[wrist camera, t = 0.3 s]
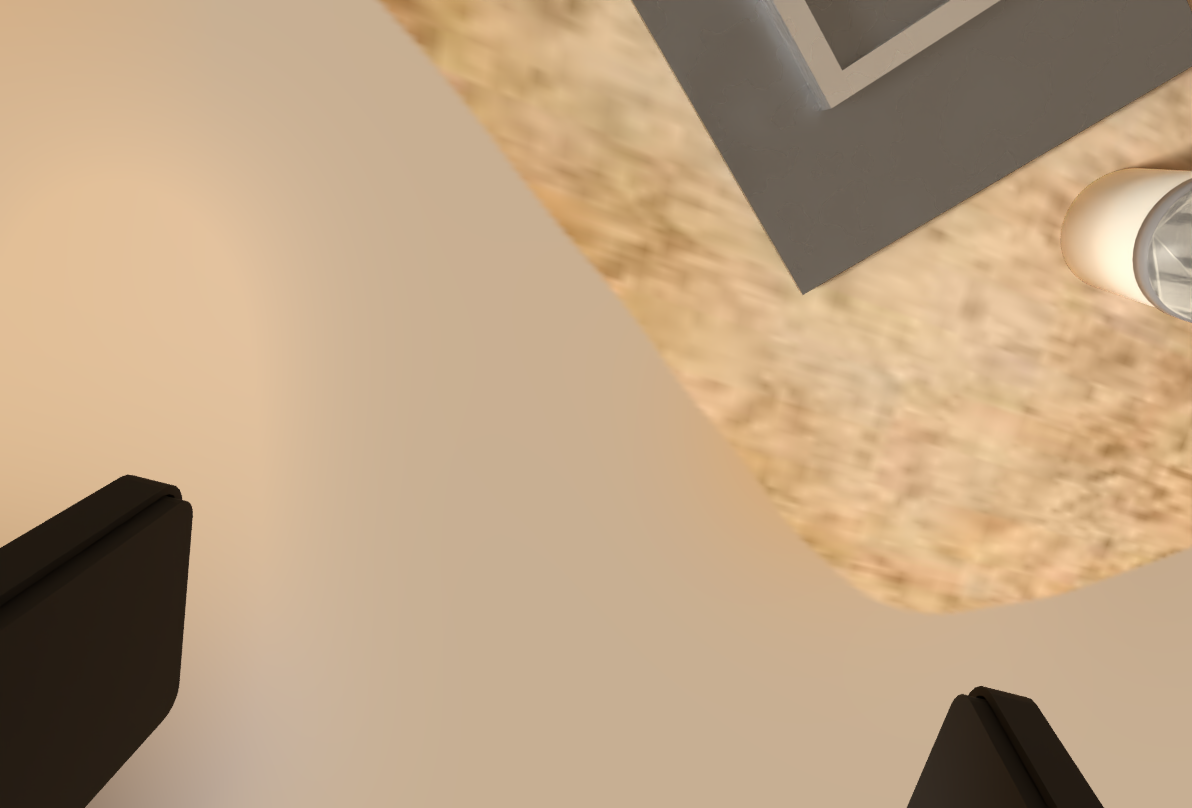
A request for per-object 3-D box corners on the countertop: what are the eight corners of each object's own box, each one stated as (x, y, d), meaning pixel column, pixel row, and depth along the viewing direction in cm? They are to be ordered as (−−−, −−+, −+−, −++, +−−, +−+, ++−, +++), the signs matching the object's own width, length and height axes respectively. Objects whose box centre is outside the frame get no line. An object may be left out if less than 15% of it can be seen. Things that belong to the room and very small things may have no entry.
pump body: (1160, 140, 35) (1276, 138, 28) (1231, 294, 36) (1356, 328, 30) (1037, 210, 36) (1119, 225, 29) (1110, 357, 37) (1204, 402, 31)
